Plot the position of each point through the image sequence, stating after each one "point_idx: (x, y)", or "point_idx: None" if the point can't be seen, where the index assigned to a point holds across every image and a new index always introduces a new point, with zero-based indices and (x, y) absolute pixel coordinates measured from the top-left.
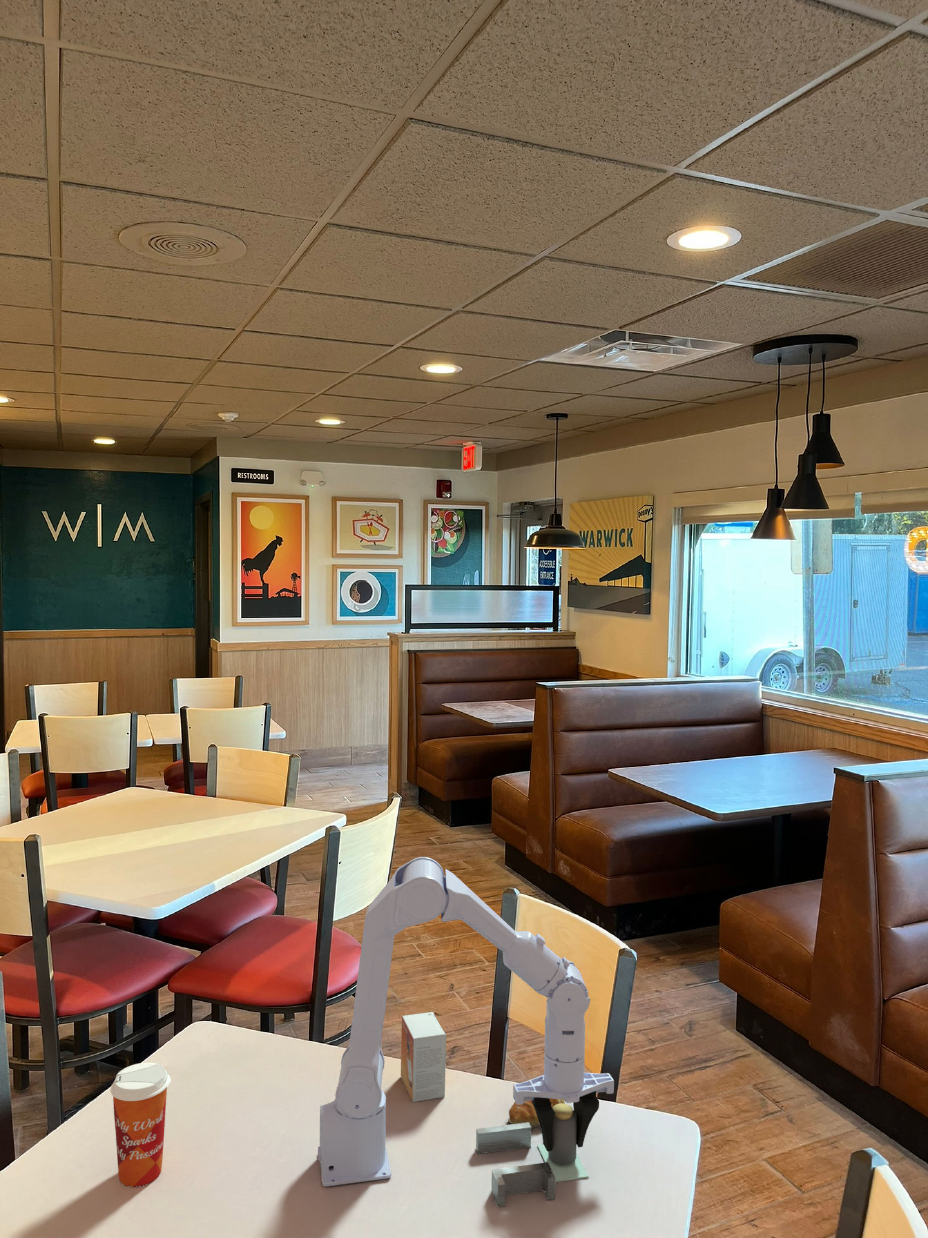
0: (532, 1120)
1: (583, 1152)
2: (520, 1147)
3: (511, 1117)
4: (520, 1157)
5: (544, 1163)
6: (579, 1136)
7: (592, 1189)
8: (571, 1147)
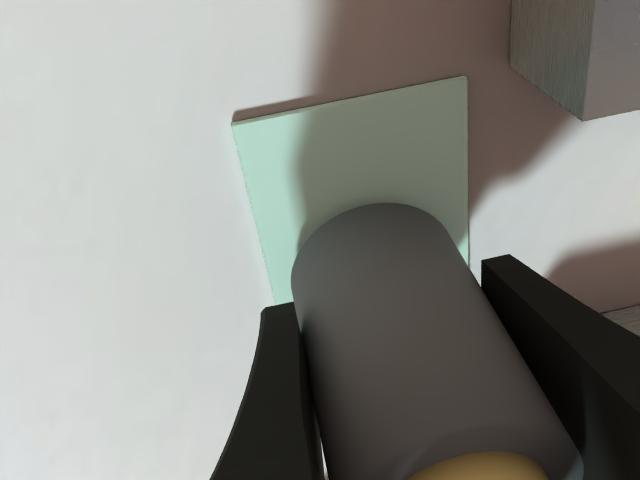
0: None
1: (231, 326)
2: None
3: None
4: (575, 270)
5: (616, 106)
6: (299, 357)
7: (218, 6)
8: (357, 282)
